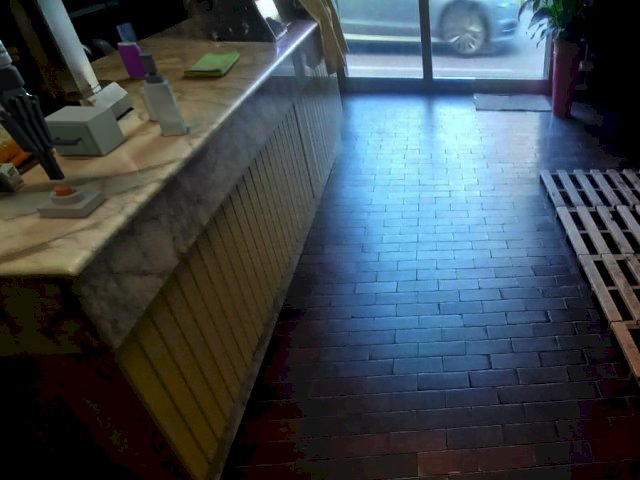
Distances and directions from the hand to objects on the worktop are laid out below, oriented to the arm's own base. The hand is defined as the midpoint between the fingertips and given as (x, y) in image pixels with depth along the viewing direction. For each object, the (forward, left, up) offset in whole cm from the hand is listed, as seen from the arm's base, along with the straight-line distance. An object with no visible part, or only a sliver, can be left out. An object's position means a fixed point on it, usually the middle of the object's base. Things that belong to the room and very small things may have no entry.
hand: (57, 178), depth 123 cm
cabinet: (-16, +42, -7) cm, 46 cm away
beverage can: (-37, +123, -8) cm, 129 cm away
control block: (0, 0, -7) cm, 7 cm away
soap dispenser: (+2, +58, -8) cm, 59 cm away
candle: (-8, +70, -8) cm, 71 cm away
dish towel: (-14, +143, -8) cm, 144 cm away
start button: (0, 0, -4) cm, 4 cm away
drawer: (-16, +38, -7) cm, 42 cm away
